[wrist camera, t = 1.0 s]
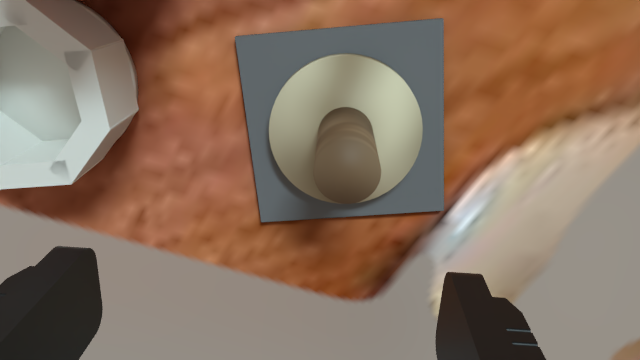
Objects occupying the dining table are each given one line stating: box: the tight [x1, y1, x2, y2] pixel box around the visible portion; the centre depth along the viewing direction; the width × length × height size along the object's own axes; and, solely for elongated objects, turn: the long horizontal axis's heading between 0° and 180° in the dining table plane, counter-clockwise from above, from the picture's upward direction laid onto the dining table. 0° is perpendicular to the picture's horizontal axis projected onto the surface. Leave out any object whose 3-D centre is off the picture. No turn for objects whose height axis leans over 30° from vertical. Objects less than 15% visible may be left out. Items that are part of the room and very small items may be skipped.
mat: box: [235, 18, 444, 222], centre depth 30 cm, size 11×11×1 cm
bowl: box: [0, 0, 139, 190], centre depth 28 cm, size 9×9×5 cm
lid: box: [269, 53, 423, 204], centre depth 27 cm, size 8×8×7 cm
